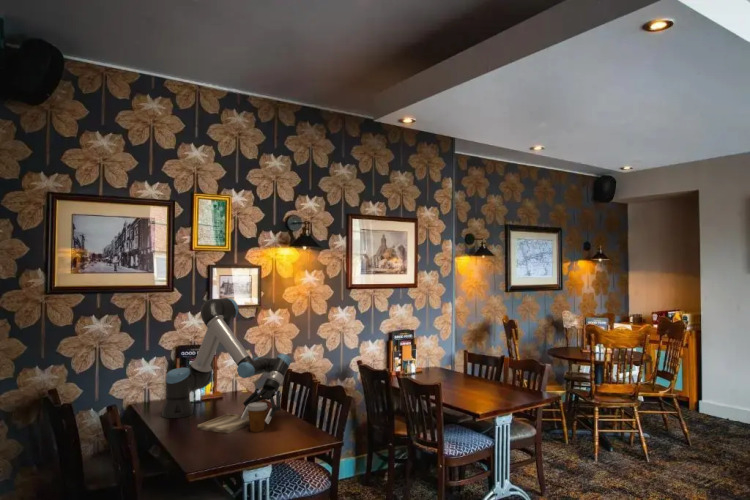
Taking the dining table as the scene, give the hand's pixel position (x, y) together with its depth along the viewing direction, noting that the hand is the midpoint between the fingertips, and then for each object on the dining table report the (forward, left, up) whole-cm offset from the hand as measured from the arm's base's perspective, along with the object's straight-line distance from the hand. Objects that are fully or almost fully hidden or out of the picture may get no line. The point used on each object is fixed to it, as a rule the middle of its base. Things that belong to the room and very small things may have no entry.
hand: (254, 421), depth 240 cm
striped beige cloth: (-18, +3, -5) cm, 19 cm away
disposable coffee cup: (0, +2, -5) cm, 5 cm away
